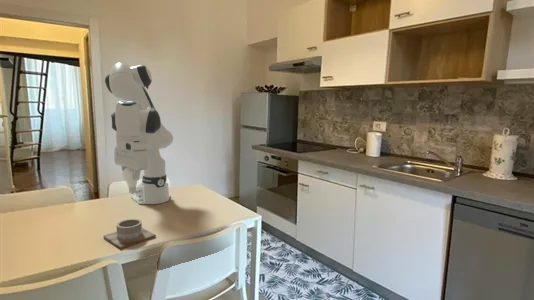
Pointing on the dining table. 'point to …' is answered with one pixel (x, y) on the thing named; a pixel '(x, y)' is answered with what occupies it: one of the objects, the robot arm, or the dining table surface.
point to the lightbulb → (130, 179)
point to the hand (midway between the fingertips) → (131, 178)
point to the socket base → (129, 242)
